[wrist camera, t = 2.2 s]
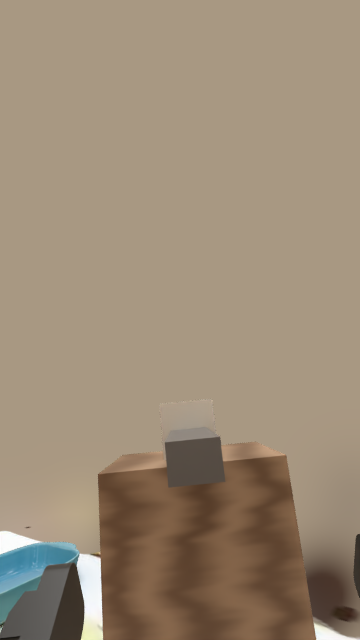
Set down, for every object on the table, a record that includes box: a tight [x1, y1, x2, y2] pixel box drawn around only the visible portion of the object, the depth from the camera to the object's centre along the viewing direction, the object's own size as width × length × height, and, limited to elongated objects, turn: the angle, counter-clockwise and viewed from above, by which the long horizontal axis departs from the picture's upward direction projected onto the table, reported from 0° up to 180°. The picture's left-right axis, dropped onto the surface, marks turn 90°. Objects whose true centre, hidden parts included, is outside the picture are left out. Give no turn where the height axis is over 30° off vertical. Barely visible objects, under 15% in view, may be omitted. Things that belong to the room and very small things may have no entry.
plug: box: [160, 399, 225, 488], centre depth 34 cm, size 6×19×6 cm, turn 0°
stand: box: [98, 442, 316, 640], centre depth 35 cm, size 18×14×32 cm
